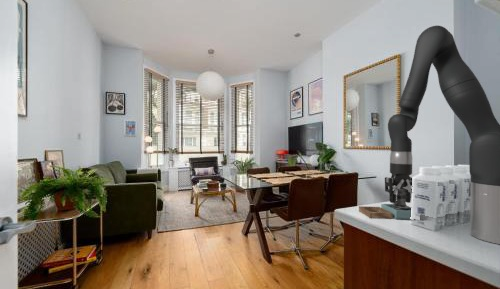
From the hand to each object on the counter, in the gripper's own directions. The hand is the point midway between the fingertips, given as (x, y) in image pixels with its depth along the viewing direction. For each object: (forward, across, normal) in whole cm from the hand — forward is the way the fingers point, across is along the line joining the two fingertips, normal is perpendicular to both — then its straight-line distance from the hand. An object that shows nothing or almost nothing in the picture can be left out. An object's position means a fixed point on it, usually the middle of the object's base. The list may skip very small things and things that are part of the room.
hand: (400, 202), depth 86 cm
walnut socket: (+6, -10, +3) cm, 11 cm away
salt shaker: (+5, 0, 0) cm, 5 cm away
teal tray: (+6, 0, 0) cm, 6 cm away
